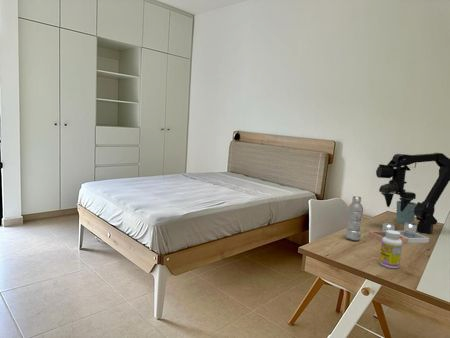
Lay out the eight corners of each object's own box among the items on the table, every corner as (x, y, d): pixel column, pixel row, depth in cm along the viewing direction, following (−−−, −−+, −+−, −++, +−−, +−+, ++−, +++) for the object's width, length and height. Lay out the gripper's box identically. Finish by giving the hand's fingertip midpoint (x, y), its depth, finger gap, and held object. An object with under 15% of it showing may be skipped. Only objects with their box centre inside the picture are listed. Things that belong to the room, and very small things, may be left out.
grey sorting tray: (409, 236, 155) (410, 230, 155) (430, 244, 143) (430, 238, 143) (367, 237, 150) (367, 231, 149) (385, 246, 138) (385, 239, 138)
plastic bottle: (359, 238, 147) (363, 196, 144) (360, 243, 140) (365, 199, 138) (344, 236, 149) (349, 195, 146) (345, 240, 142) (349, 197, 140)
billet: (409, 236, 151) (410, 222, 150) (417, 240, 146) (419, 225, 145) (400, 236, 150) (402, 222, 149) (408, 240, 145) (410, 225, 144)
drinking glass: (413, 226, 174) (416, 205, 173) (393, 222, 180) (395, 202, 178) (414, 222, 183) (417, 202, 181) (395, 219, 188) (397, 199, 187)
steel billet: (387, 237, 148) (389, 222, 147) (395, 240, 143) (397, 225, 142) (378, 237, 147) (380, 222, 146) (386, 241, 142) (388, 226, 141)
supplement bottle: (375, 261, 119) (379, 228, 118) (392, 261, 120) (395, 229, 119) (386, 269, 113) (390, 234, 111) (403, 269, 113) (407, 235, 112)
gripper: (372, 175, 165) (368, 204, 167) (398, 181, 147) (394, 213, 149) (390, 176, 168) (386, 204, 169) (418, 181, 149) (414, 213, 151)
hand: (394, 209), depth 160 cm, fingers open, 9 cm apart
